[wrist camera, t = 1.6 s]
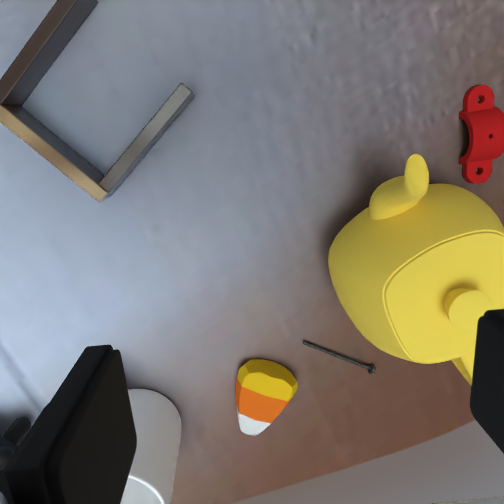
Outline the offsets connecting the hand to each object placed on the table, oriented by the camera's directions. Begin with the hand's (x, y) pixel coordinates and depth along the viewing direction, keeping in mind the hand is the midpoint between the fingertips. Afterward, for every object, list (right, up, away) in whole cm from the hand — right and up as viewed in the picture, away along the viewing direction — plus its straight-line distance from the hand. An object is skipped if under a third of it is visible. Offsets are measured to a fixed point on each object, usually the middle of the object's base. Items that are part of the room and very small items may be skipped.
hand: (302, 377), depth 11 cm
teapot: (+12, +4, +27) cm, 30 cm away
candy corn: (+1, -8, +28) cm, 29 cm away
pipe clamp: (+18, +13, +25) cm, 33 cm away
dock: (-13, +15, +22) cm, 30 cm away
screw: (+7, -8, +29) cm, 31 cm away
